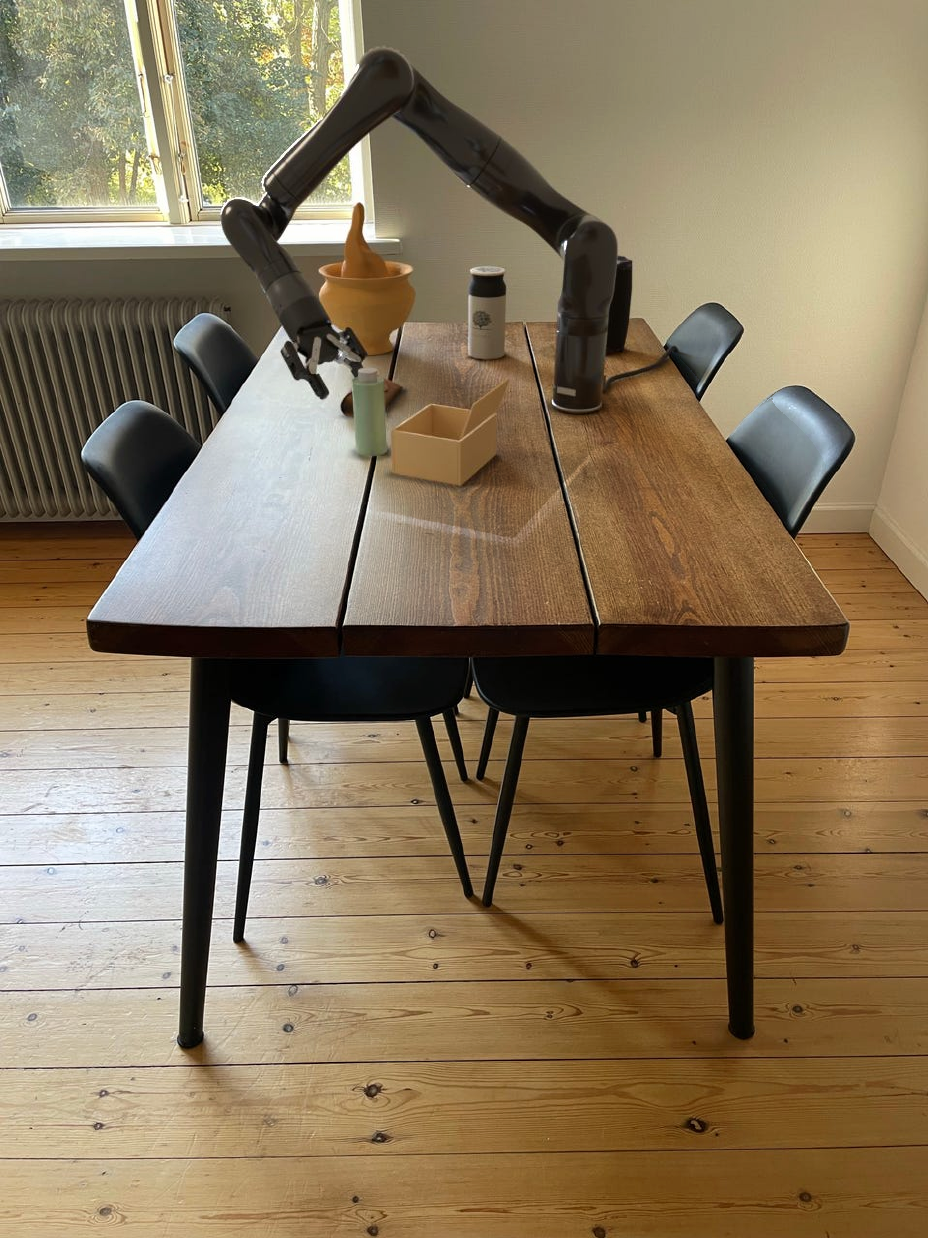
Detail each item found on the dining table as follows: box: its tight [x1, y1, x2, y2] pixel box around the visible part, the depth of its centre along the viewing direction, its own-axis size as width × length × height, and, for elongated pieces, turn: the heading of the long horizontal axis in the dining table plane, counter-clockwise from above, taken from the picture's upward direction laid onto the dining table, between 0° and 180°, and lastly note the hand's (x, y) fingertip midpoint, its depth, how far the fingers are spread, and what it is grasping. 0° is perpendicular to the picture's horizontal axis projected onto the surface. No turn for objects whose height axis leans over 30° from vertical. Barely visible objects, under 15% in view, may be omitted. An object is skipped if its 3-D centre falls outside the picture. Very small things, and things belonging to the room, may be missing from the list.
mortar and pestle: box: [318, 201, 417, 356], centre depth 200 cm, size 21×21×30 cm
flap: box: [460, 377, 511, 438], centre depth 142 cm, size 14×6×1 cm
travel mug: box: [467, 266, 507, 361], centre depth 199 cm, size 8×8×18 cm
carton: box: [390, 403, 498, 487], centre depth 148 cm, size 14×12×8 cm
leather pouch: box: [339, 374, 404, 418], centre depth 176 cm, size 18×7×7 cm, turn 172°
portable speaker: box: [605, 255, 634, 356], centre depth 202 cm, size 9×9×20 cm
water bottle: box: [351, 367, 388, 457], centre depth 151 cm, size 5×5×14 cm
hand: (346, 391), depth 153 cm, fingers open, 8 cm apart
